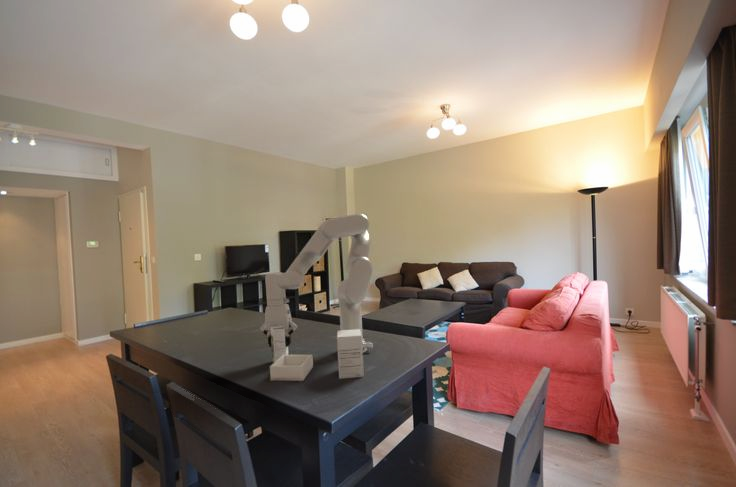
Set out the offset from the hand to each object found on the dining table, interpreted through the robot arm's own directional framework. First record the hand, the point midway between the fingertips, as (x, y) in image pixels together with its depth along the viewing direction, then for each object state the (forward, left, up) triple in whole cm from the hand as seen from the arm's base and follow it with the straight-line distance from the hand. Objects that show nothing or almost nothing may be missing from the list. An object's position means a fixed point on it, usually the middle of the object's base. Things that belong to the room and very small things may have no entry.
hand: (279, 345), depth 136 cm
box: (-9, +11, -7) cm, 16 cm away
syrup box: (0, 0, -6) cm, 6 cm away
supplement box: (-31, +10, -7) cm, 34 cm away
